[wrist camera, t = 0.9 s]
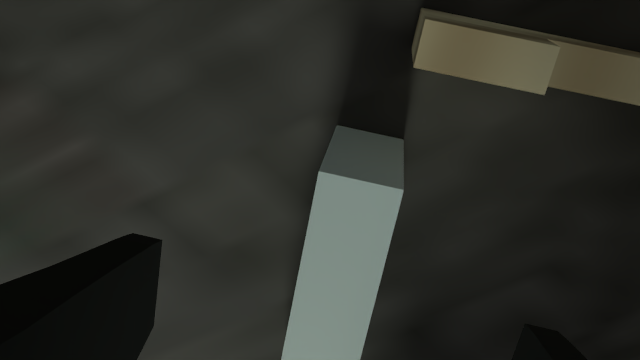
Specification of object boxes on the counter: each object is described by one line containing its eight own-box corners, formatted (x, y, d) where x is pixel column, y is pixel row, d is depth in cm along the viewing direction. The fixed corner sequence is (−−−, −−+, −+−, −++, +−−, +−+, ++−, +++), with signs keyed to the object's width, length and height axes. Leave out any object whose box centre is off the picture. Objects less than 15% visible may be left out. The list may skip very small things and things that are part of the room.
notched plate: (342, 385, 23) (328, 480, 19) (286, 371, 23) (260, 463, 19) (403, 139, 19) (403, 190, 15) (336, 124, 20) (318, 170, 15)
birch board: (763, 77, 17) (845, 105, 14) (744, 117, 18) (820, 153, 15) (421, 7, 18) (425, 18, 15) (411, 47, 18) (413, 67, 15)
